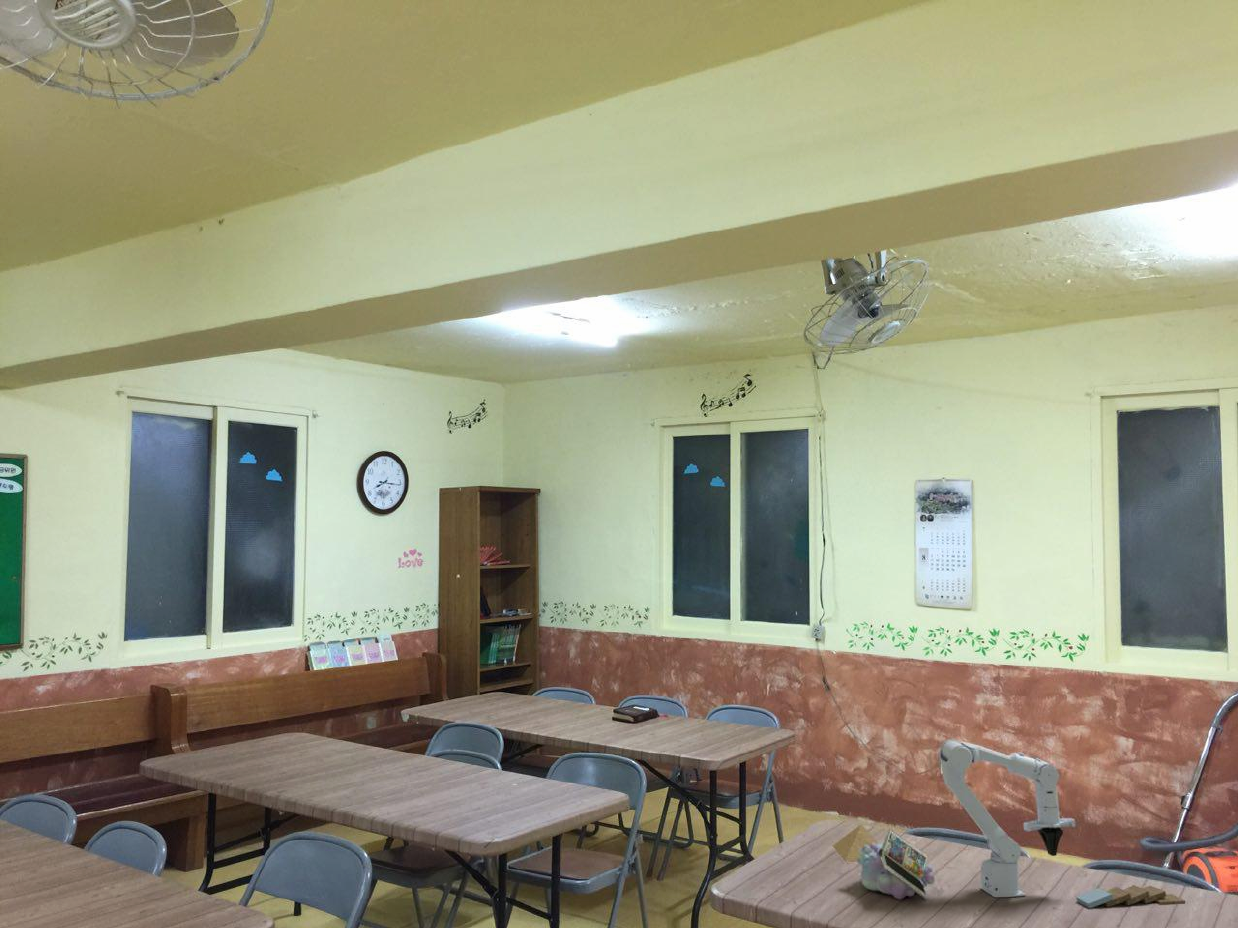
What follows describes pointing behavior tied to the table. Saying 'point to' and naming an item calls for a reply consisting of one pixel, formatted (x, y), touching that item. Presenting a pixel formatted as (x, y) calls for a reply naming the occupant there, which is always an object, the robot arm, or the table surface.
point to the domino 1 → (1094, 898)
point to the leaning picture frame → (895, 867)
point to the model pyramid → (853, 844)
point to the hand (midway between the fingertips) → (1052, 854)
